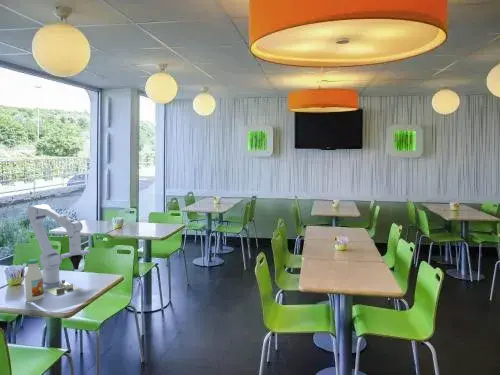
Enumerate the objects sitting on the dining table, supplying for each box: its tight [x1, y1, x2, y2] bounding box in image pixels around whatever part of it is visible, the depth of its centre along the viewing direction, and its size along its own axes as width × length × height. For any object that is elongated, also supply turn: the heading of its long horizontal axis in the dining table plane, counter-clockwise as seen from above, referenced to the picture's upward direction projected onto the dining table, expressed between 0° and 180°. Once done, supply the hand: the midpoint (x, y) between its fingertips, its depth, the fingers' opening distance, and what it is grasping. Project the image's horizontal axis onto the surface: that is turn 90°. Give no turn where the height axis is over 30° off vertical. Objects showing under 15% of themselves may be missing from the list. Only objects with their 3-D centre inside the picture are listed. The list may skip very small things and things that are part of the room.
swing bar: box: [60, 279, 74, 290], centre depth 225 cm, size 10×3×3 cm, turn 47°
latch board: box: [44, 284, 83, 296], centre depth 224 cm, size 13×14×4 cm
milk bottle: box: [24, 258, 45, 303], centre depth 210 cm, size 8×8×20 cm
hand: (76, 269), depth 231 cm, fingers closed
